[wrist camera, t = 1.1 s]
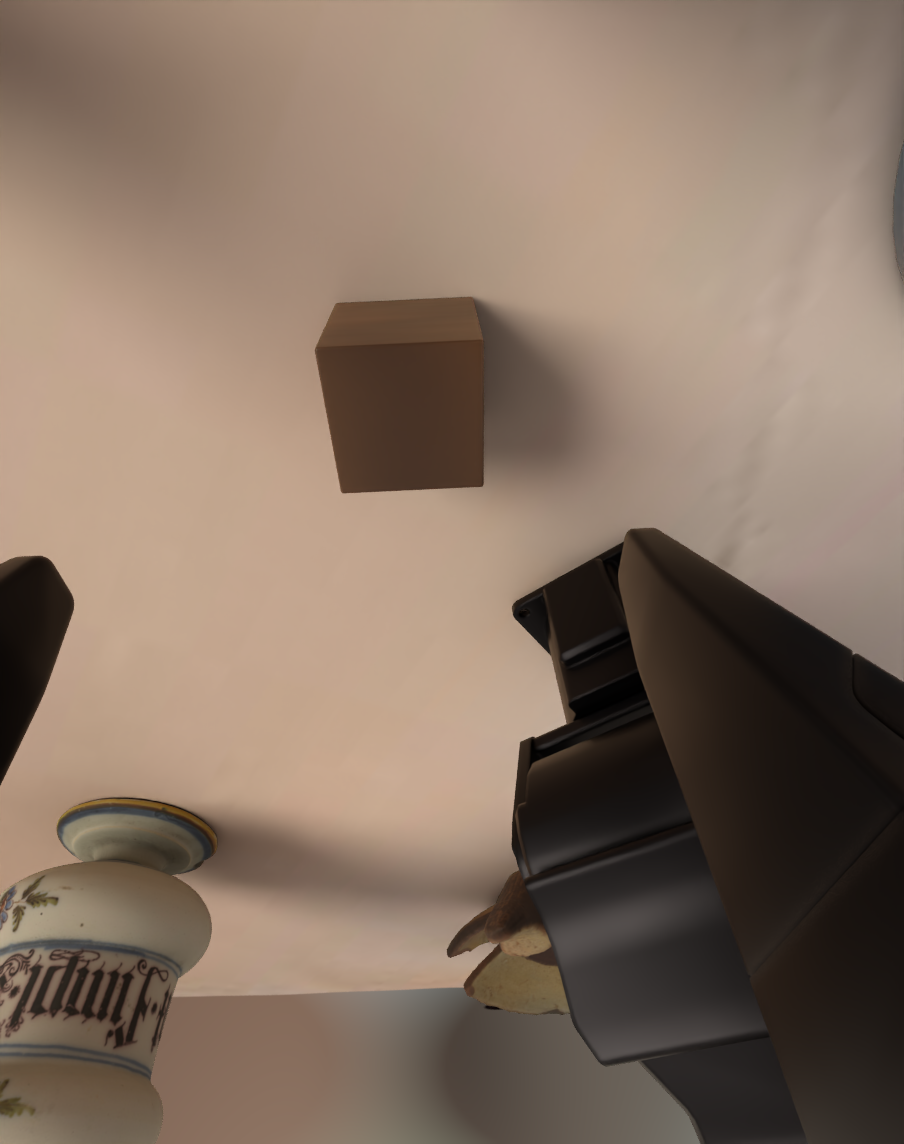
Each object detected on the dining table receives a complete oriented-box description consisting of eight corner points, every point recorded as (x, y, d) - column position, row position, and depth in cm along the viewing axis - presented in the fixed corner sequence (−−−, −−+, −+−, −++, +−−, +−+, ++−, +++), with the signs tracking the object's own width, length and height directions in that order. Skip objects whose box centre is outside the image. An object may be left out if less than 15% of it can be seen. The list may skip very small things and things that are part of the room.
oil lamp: (464, 959, 56) (469, 1061, 50) (414, 811, 37) (411, 946, 31) (693, 940, 55) (725, 1042, 49) (762, 777, 36) (829, 910, 30)
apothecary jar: (203, 886, 43) (96, 1259, 29) (26, 852, 38) (-200, 1273, 25) (261, 817, 37) (160, 1251, 23) (58, 767, 32) (-222, 1268, 18)
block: (473, 296, 17) (484, 340, 14) (474, 425, 20) (483, 487, 17) (335, 302, 17) (313, 348, 14) (354, 431, 20) (341, 494, 17)
